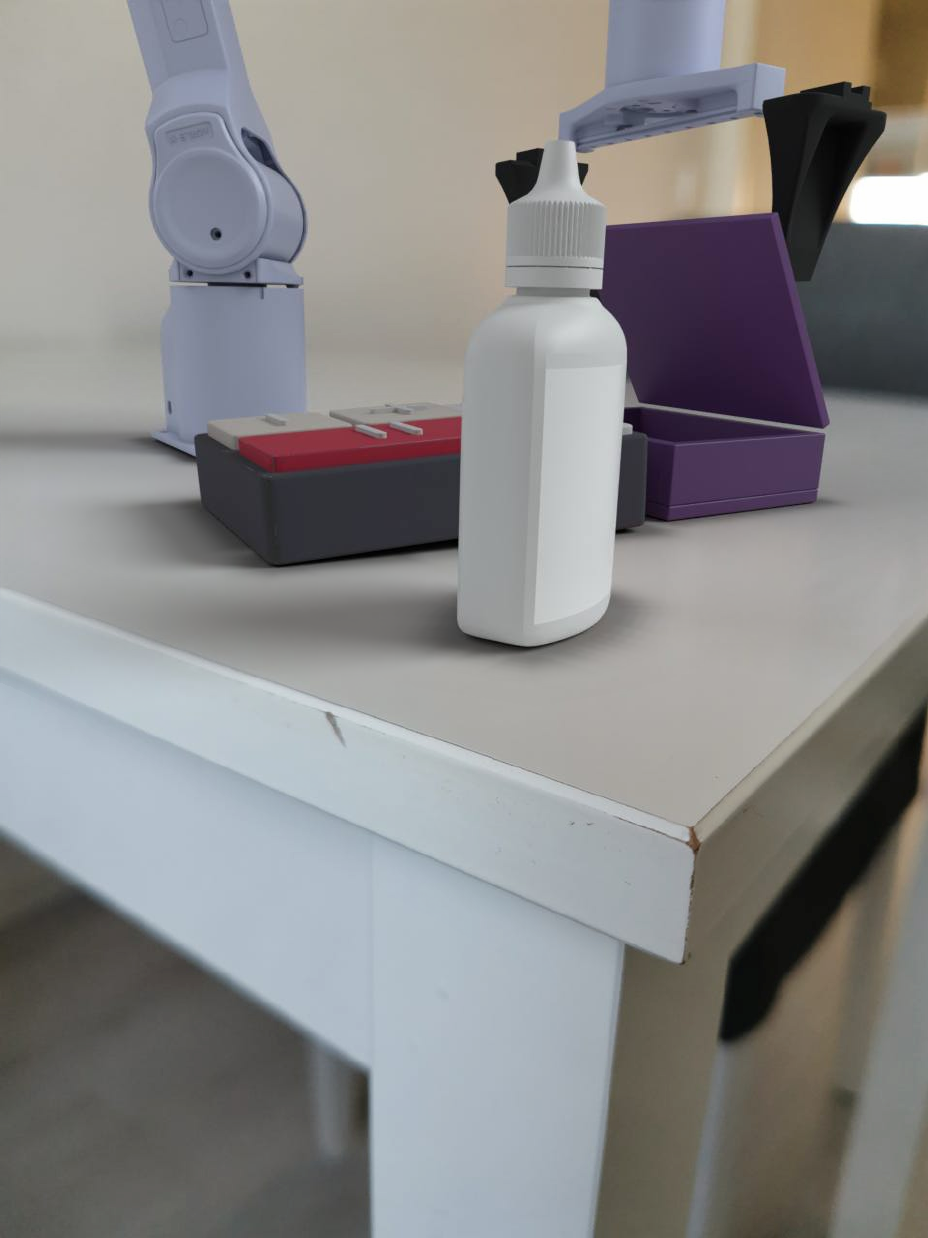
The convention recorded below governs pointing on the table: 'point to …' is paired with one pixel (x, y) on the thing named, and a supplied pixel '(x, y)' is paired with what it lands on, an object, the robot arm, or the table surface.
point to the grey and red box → (355, 479)
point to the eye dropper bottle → (542, 425)
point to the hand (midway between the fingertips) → (646, 284)
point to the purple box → (723, 464)
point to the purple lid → (713, 318)
